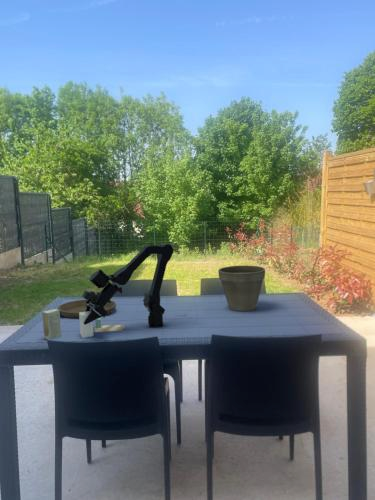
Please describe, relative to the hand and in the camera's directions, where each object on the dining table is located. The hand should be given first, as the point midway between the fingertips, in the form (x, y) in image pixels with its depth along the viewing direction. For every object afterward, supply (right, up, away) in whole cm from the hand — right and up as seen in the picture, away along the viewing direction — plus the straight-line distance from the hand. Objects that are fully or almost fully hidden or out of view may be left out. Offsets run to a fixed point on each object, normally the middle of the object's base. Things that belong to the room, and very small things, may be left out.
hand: (82, 322), depth 188 cm
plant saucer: (-8, -3, +45) cm, 46 cm away
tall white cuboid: (+1, -6, +1) cm, 7 cm away
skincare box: (-14, -7, +1) cm, 15 cm away
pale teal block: (+4, -4, +13) cm, 15 cm away
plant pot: (+76, 0, +44) cm, 88 cm away
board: (+9, -5, +11) cm, 16 cm away
